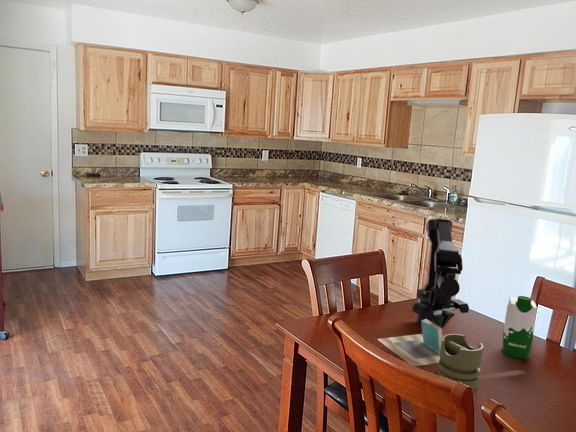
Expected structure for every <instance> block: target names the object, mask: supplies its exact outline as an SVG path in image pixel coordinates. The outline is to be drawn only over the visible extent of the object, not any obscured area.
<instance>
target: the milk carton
mask: <svg viewBox="0 0 576 432" xmlns="http://www.w3.org/2000/svg"><path fill="white" fill-rule="evenodd" d="M537 311H538V307H537V304H536V302H535V301H534V300H532V298H531V297H529V296H524V295H519V296H518V297H517V298H516V297H512V296H509V298H508V303H507V305H506V313H505V318H504V326H503V332H502V349H503V355H505V356H506V357H510V358H517V359H521V360H525V361H526V360H527V361H528V359H529V356H530V351H531V348H532V342H533V336H534V332H535V326H536V319H537Z"/></svg>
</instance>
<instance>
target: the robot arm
mask: <svg viewBox="0 0 576 432" xmlns="http://www.w3.org/2000/svg"><path fill="white" fill-rule="evenodd" d="M425 227H426V228H425V232H427V233H426V235H427V236H426V237H427V238H428V241H429V242H430V246H429V247H430V249H429V259H428V269H427V270H428V271H427V272H428V273H427V280H426V283H425V284H424V286H423V287H422V288H421V289H418V288H417V292H416V298H417V302H414V303H413V304H412V307H411V308H412V312H413V313H416V314H417V315H418V316H417V320H415V323H419V324H421V321H422V320H424V319H427V320H429V321H431V322H432V323H434V324H436V325H437V326H439V327H441V328H442V330H444V328H445V326H446V325H447V324H448V323H449V322H450V320H451V319H452V318H453V317H455V313H453V310H459V312H460V313H461V314H467V313H469V310H470V307H469V304H468V303H467V302H465V301H463V300H461V299H459V298H455V299H452V297H455V296H456V295H457V294H459V292H460V289H461V288H460V284H459V282H458V280H457V278H456V275H461V274H462V271H463V268H464V267H463V258H462V255H461V253H460V252H459V249H458V246H457V245H455V244H454V242H453V238H452V232H453V222H452V220H451V219H449V218H445V217H444V218H443V217H437V218H434V219H433V218H430V219H428V221H426V226H425Z"/></svg>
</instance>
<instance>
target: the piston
mask: <svg viewBox="0 0 576 432" xmlns="http://www.w3.org/2000/svg"><path fill="white" fill-rule="evenodd" d="M483 352H484V344H483V343H482V342H480V343H479V346H478V347H477V348H476V347H473V346H472V345H470V344H469V343H468V341H467V340H466V335H464V334H458V333H447V334H444V335H443V337H442V341H441V349H440V359H439V363H437V364H438V365H437V372H436V373H437V376H438V375H439V376H442V377H445V378H448V379H450V380H453V381H456V382H461V383H463V384H465V385H468V386H470V387H472V389H473V390H472V391H475V390H476V389H478V384H479V379H480V372H481V366H482V360H483ZM439 376H438V377H439Z"/></svg>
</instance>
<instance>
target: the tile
mask: <svg viewBox="0 0 576 432" xmlns="http://www.w3.org/2000/svg"><path fill="white" fill-rule="evenodd" d="M420 325H421V334H423V342H424V343H426V344H427V345H429V346H430V347H432V348H433V349H435V350H436V351H438V352H440V349H441V341H442V337H443V336H444V335H443V329H442V328H441V327H439V326H437V325H436V324H434V323H432V322H431V321H429V320H427V319H424V320H422V321H421V323H420Z"/></svg>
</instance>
